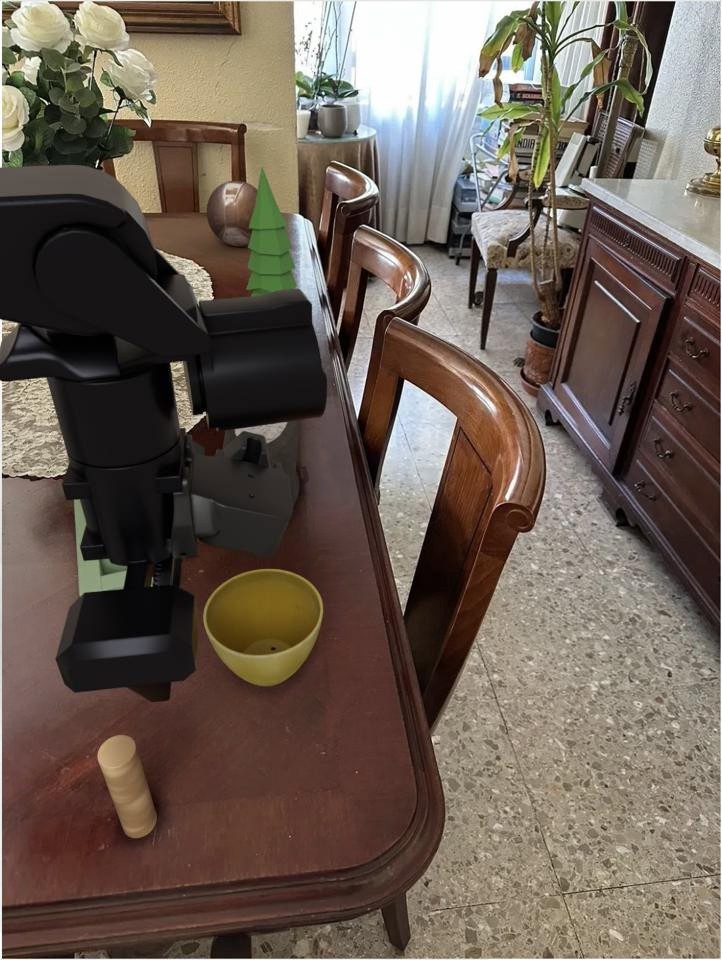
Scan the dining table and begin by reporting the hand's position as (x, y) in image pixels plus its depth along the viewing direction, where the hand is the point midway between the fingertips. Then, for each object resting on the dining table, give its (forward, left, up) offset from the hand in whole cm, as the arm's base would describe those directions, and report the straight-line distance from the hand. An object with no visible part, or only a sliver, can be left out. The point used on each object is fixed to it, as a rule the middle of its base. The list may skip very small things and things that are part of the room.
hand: (166, 640), depth 43 cm
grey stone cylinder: (+16, +38, -15) cm, 44 cm away
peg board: (-3, +27, -15) cm, 31 cm away
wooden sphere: (+35, +137, -15) cm, 142 cm away
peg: (-4, -3, -15) cm, 16 cm away
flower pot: (+8, +8, -15) cm, 19 cm away
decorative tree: (+27, +73, -15) cm, 79 cm away
